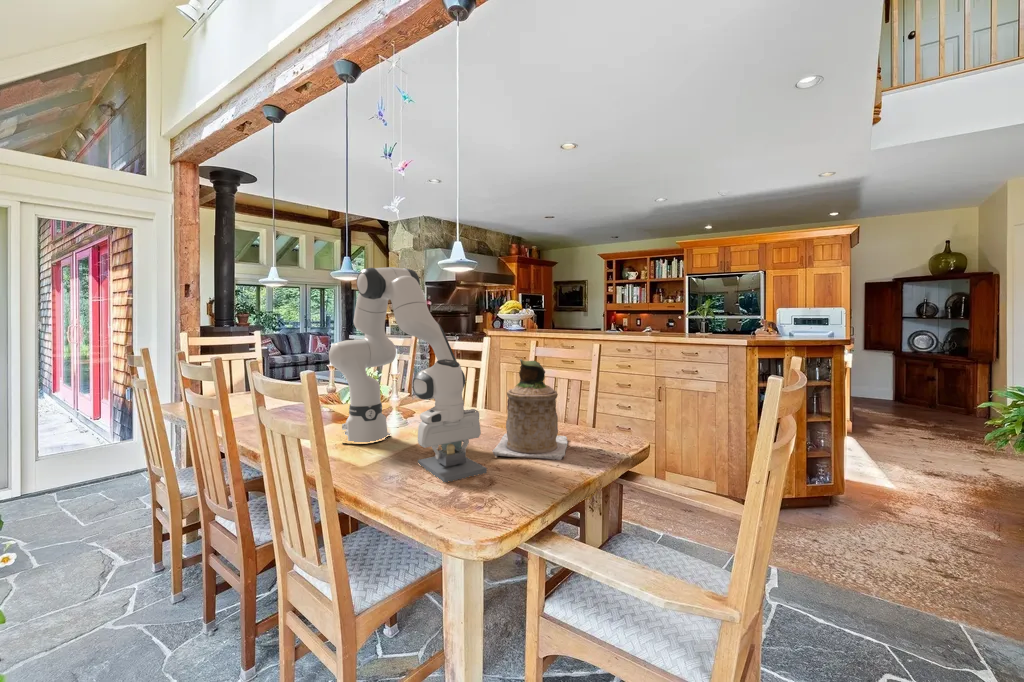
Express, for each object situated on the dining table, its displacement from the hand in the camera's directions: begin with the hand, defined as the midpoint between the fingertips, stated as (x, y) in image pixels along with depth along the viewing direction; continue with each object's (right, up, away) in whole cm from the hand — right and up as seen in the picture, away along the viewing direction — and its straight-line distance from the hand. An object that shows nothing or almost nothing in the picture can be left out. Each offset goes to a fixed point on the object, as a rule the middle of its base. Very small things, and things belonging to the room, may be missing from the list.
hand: (450, 456), depth 146 cm
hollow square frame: (0, -2, 0) cm, 2 cm away
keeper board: (0, -4, 0) cm, 4 cm away
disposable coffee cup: (-3, -3, +19) cm, 19 cm away
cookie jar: (+26, -2, +20) cm, 33 cm away
